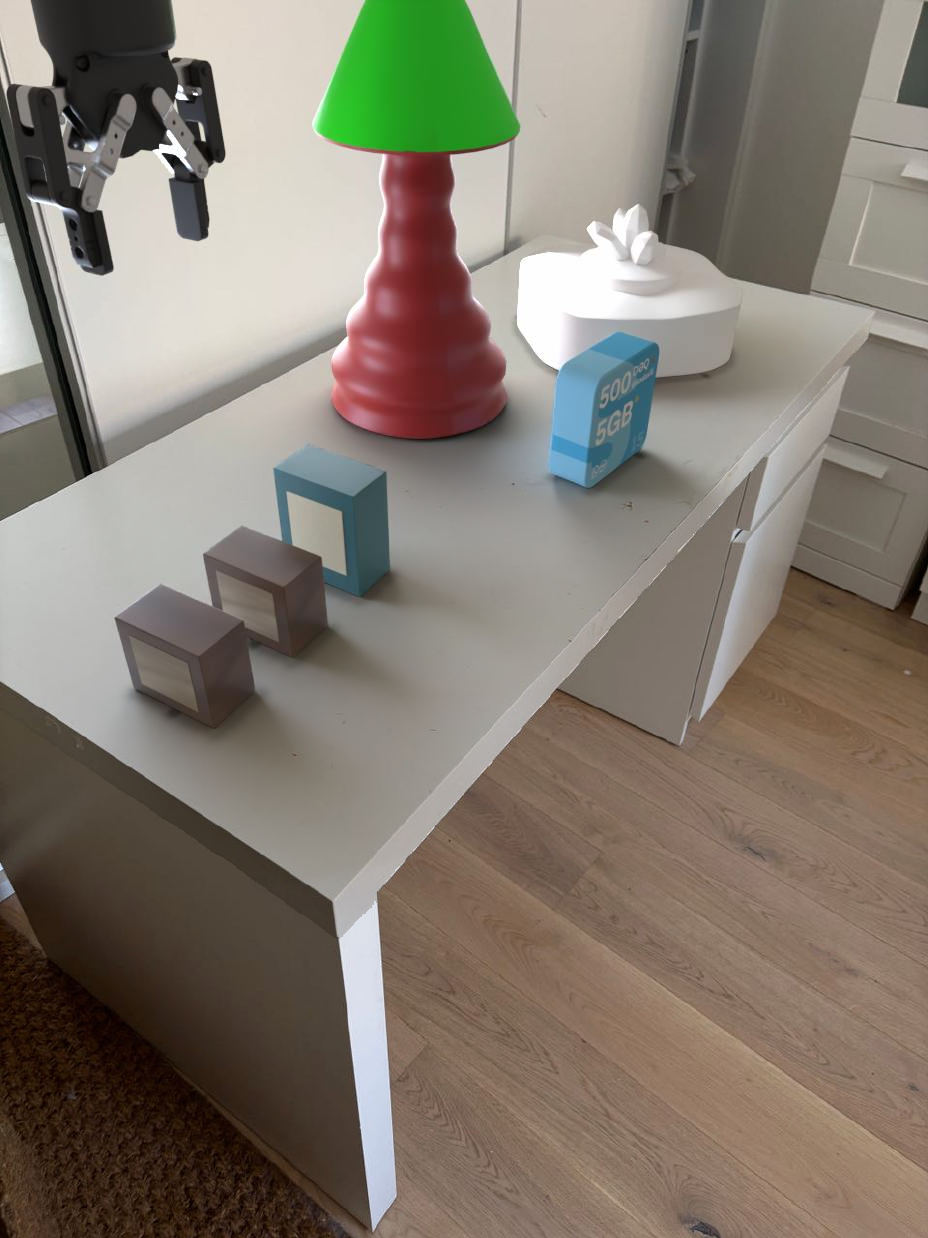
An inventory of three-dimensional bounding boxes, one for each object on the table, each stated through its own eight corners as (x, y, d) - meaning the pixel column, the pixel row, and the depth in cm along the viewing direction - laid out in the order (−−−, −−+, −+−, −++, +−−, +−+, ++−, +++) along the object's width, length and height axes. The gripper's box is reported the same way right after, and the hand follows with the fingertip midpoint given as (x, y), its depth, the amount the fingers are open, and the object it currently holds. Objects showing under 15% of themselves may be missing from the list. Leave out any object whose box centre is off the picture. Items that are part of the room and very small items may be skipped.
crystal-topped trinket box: (558, 386, 112) (571, 246, 102) (501, 304, 131) (507, 178, 120) (754, 368, 117) (786, 232, 107) (673, 291, 136) (693, 169, 125)
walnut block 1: (213, 729, 70) (198, 657, 65) (133, 688, 73) (113, 617, 68) (256, 691, 73) (244, 620, 68) (176, 653, 76) (160, 582, 71)
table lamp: (366, 457, 99) (339, -83, 70) (309, 376, 113) (267, -103, 84) (537, 422, 106) (576, -86, 77) (463, 350, 119) (473, -104, 91)
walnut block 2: (292, 658, 76) (283, 588, 71) (214, 623, 79) (201, 553, 74) (328, 625, 79) (322, 556, 74) (252, 593, 82) (241, 524, 77)
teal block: (359, 597, 82) (352, 497, 75) (284, 566, 85) (272, 467, 78) (390, 569, 85) (386, 470, 78) (317, 540, 88) (308, 443, 81)
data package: (584, 494, 95) (597, 380, 87) (546, 478, 97) (556, 366, 89) (645, 446, 102) (662, 338, 94) (609, 433, 104) (622, 326, 96)
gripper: (36, -42, 46) (107, 297, 56) (233, -53, 56) (264, 236, 66) (-67, -48, 49) (18, 275, 59) (137, -58, 59) (181, 220, 69)
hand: (148, 254), depth 62 cm, fingers open, 8 cm apart
